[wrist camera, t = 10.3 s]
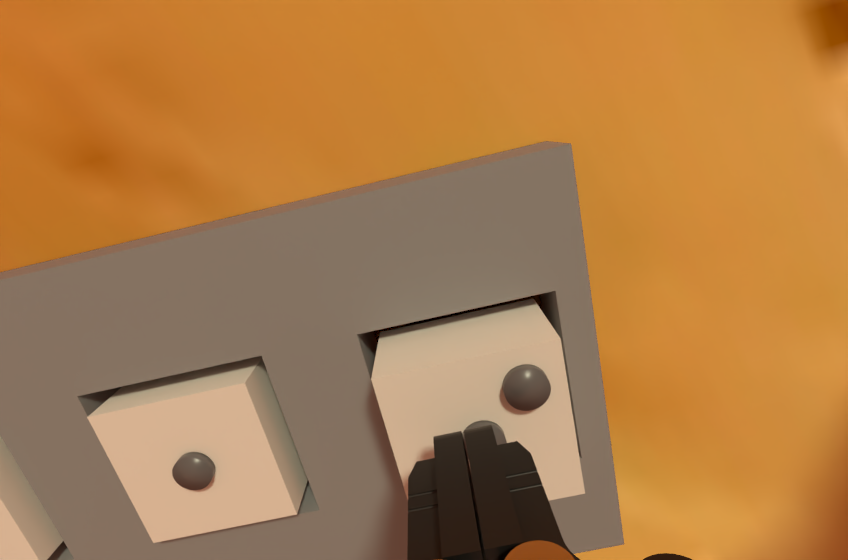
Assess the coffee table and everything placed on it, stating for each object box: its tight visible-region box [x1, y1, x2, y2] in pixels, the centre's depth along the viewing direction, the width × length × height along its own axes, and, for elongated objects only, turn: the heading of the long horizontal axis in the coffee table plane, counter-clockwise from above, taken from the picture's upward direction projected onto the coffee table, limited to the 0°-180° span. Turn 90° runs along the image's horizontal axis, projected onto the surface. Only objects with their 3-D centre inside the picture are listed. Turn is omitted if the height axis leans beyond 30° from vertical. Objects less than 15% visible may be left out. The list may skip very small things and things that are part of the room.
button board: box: [0, 141, 624, 560], centre depth 17 cm, size 26×14×2 cm, turn 103°
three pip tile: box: [371, 299, 585, 501], centre depth 14 cm, size 5×5×3 cm
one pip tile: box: [87, 356, 308, 543], centre depth 16 cm, size 5×5×3 cm
